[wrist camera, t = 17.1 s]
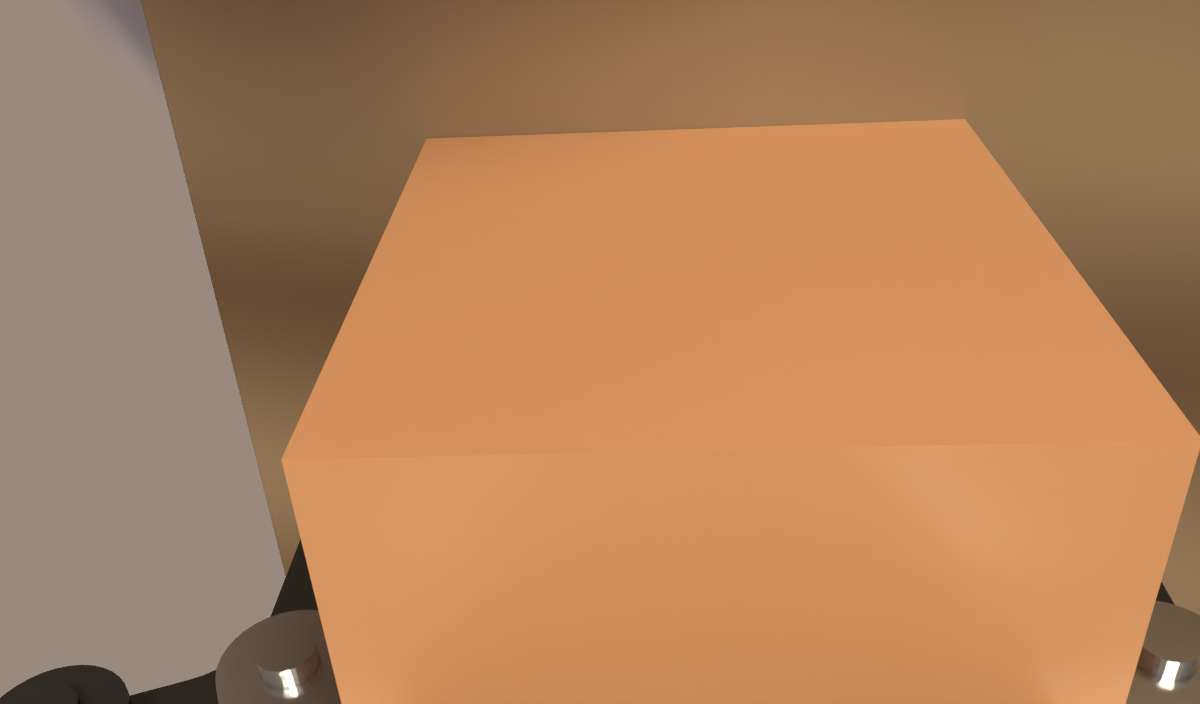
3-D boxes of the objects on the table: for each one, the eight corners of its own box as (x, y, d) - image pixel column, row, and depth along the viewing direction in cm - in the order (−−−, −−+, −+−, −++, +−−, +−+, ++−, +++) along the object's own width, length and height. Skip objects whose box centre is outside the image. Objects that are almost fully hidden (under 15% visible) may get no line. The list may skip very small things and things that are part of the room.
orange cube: (911, 535, 15) (1047, 965, 10) (481, 542, 16) (406, 965, 10) (964, 119, 12) (1202, 439, 7) (426, 138, 12) (281, 458, 7)
